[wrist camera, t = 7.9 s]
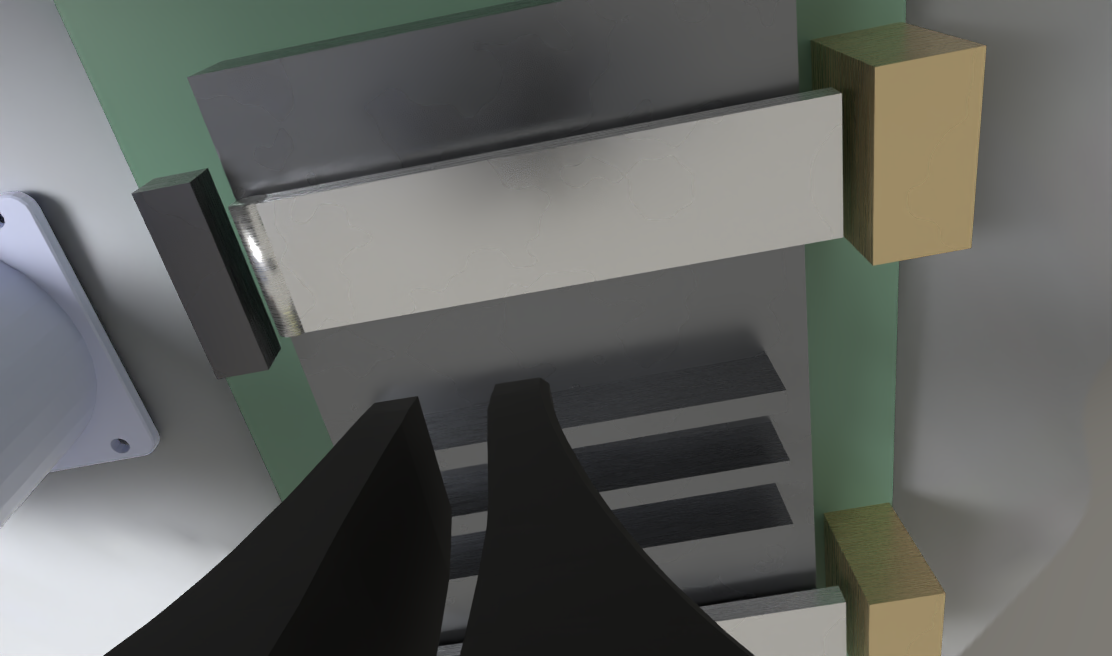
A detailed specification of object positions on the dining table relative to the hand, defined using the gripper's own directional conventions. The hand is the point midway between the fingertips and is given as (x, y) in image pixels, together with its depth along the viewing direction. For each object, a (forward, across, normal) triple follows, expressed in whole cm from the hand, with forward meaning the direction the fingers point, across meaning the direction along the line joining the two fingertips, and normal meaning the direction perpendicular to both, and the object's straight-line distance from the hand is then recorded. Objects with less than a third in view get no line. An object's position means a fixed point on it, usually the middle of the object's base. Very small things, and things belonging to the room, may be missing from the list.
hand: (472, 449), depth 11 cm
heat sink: (+9, -2, +6) cm, 11 cm away
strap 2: (+7, -1, -1) cm, 7 cm away
